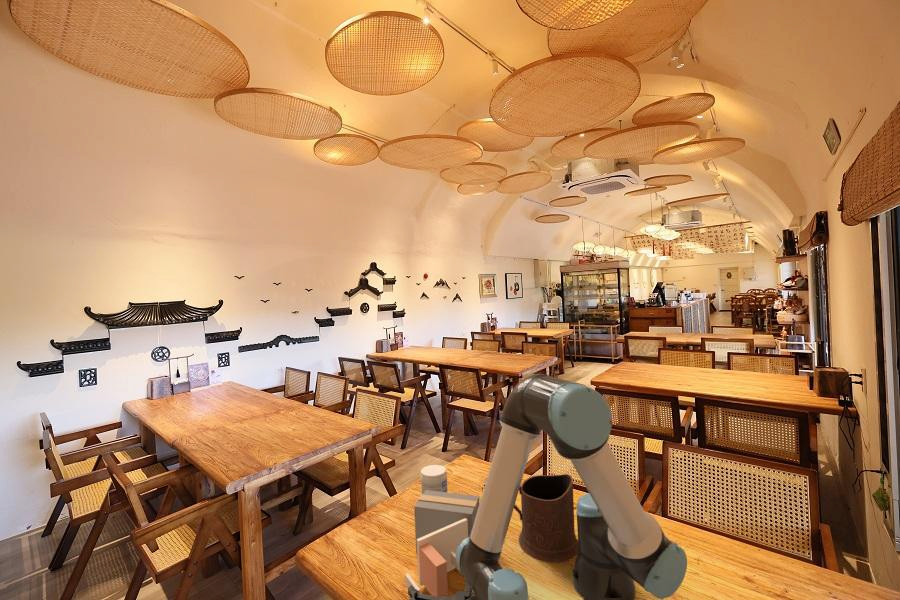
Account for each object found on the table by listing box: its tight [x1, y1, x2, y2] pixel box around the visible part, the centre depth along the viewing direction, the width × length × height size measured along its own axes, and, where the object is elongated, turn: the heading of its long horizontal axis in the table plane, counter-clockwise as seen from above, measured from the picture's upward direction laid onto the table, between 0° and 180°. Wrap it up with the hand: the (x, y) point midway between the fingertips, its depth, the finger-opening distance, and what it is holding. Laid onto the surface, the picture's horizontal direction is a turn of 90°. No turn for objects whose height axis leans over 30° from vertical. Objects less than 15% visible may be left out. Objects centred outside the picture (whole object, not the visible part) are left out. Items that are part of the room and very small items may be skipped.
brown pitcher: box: [513, 473, 579, 564], centre depth 117 cm, size 18×24×25 cm
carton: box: [413, 490, 480, 553], centre depth 116 cm, size 18×10×14 cm, turn 73°
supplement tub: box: [420, 464, 449, 495], centre depth 136 cm, size 10×10×15 cm
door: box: [416, 518, 468, 598], centre depth 100 cm, size 16×10×12 cm, turn 123°
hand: (429, 567), depth 97 cm, fingers open, 13 cm apart
